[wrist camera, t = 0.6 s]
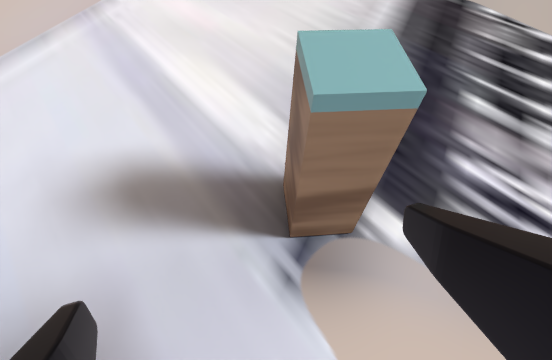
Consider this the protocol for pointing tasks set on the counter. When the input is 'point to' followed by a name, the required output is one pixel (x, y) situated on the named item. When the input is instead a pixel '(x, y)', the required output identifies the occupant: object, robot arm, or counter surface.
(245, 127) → the counter surface
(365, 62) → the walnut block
